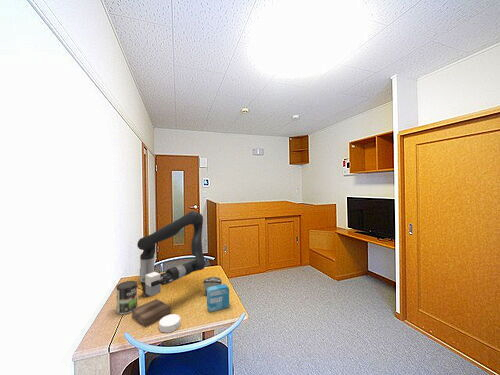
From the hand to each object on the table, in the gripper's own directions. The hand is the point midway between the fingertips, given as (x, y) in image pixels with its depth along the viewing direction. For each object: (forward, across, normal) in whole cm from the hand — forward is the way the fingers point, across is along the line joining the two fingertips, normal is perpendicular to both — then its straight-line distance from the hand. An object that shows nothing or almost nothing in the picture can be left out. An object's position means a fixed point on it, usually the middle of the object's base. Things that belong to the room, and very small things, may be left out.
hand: (148, 283), depth 116 cm
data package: (-28, +24, +18) cm, 41 cm away
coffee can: (+3, -17, +18) cm, 25 cm away
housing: (-3, 0, +6) cm, 7 cm away
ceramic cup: (-12, -24, +18) cm, 32 cm away
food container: (-38, +10, +18) cm, 43 cm away
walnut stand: (-1, 0, +18) cm, 18 cm away
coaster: (-2, +16, +18) cm, 25 cm away
